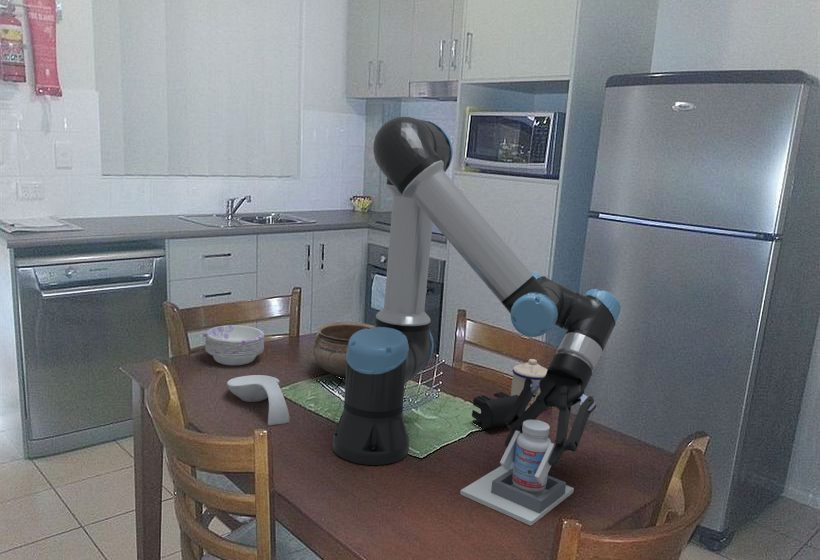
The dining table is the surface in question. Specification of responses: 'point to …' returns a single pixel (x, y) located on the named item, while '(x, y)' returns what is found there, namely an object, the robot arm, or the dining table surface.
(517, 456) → the pill bottle
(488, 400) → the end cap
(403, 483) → the dining table surface
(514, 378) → the teacup with lid
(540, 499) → the panel
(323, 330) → the cooking pot
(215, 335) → the paper bowls
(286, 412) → the spoon rest
